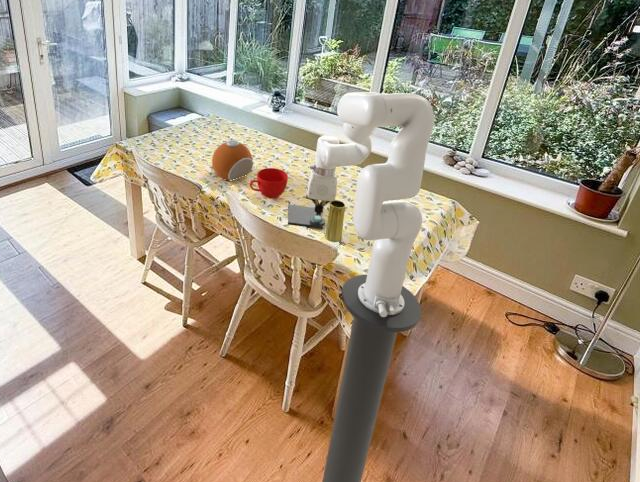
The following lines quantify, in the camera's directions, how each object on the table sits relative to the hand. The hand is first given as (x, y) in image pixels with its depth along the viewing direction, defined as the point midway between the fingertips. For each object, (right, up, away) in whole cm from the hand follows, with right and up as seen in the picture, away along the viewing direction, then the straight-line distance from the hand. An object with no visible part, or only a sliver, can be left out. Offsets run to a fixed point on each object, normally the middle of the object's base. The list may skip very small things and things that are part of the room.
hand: (318, 213), depth 155 cm
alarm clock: (-31, +11, +40) cm, 52 cm away
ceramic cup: (-17, +3, +23) cm, 28 cm away
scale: (-4, -3, +7) cm, 8 cm away
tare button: (0, -3, +1) cm, 3 cm away
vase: (+4, -8, -6) cm, 10 cm away
